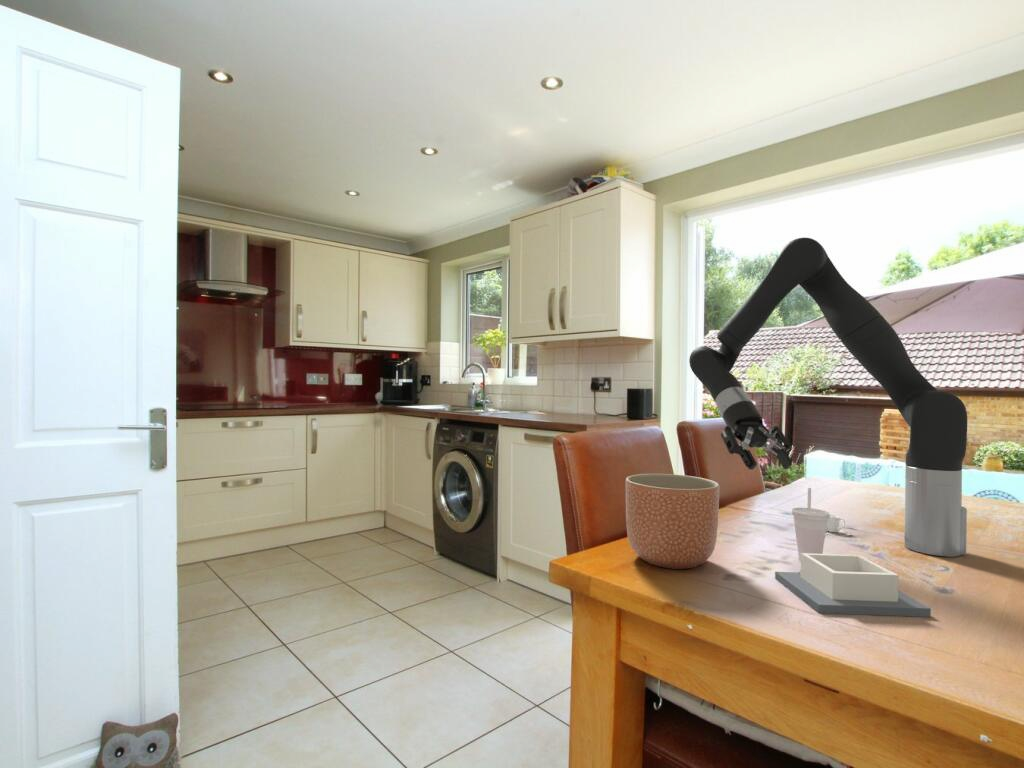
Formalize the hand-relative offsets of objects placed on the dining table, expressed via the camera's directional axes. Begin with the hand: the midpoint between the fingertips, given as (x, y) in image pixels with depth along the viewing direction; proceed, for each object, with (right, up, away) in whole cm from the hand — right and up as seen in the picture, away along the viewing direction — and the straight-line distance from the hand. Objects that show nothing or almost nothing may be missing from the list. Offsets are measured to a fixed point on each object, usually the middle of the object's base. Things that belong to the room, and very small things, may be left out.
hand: (771, 467), depth 112 cm
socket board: (-2, -16, -28) cm, 32 cm away
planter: (-25, -16, -12) cm, 32 cm away
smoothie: (+2, -17, -11) cm, 20 cm away
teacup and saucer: (+19, -18, +15) cm, 30 cm away
